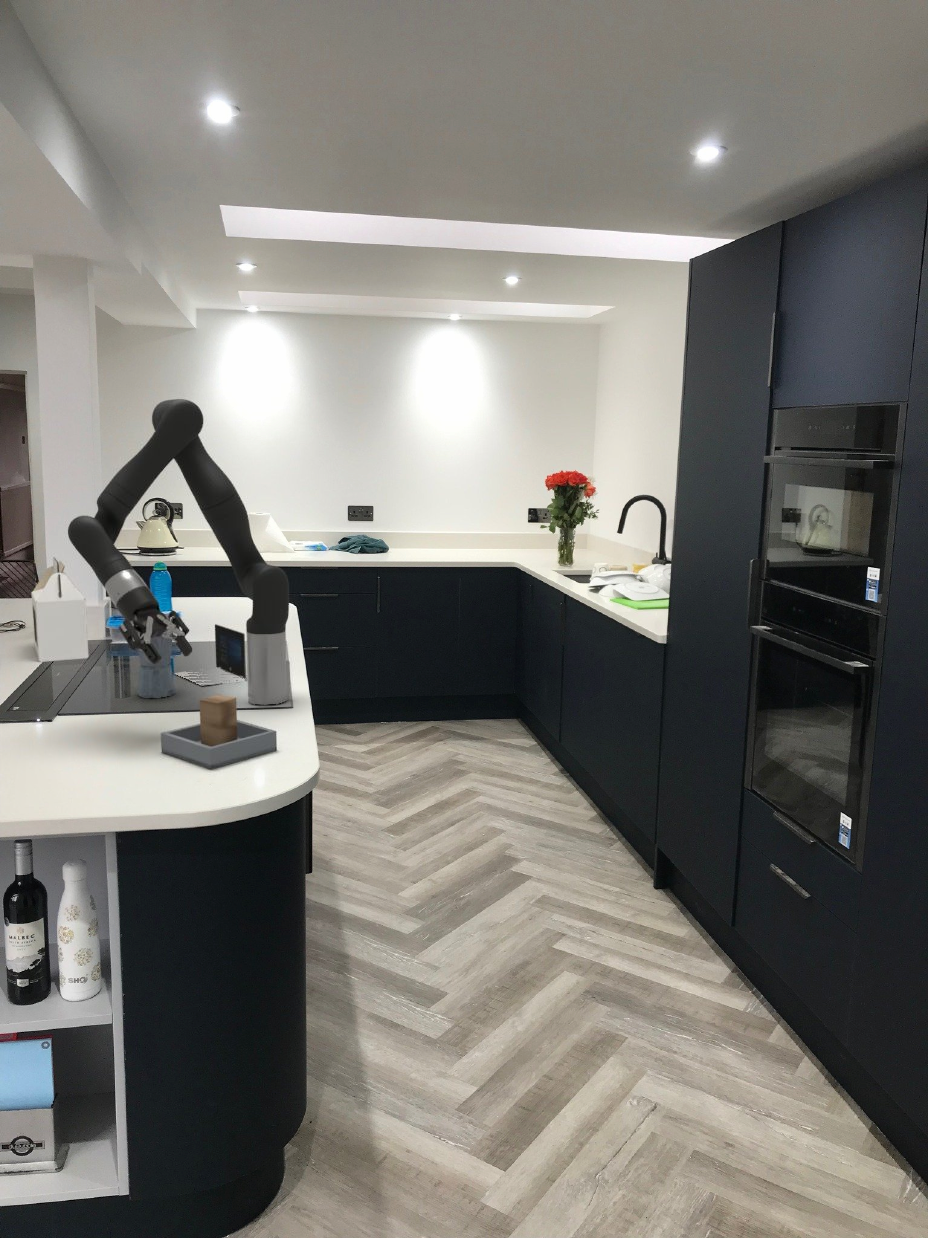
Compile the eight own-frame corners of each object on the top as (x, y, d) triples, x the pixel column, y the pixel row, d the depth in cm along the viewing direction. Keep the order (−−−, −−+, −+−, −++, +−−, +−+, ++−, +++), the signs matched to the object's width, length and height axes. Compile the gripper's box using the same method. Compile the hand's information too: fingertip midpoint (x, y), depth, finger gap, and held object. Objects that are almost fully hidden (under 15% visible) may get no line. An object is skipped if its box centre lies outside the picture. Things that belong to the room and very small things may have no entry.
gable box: (88, 658, 275) (83, 562, 270) (39, 662, 269) (32, 564, 264) (81, 645, 294) (76, 555, 290) (34, 648, 288) (29, 556, 284)
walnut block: (218, 742, 193) (217, 694, 191) (237, 746, 191) (236, 697, 189) (201, 748, 189) (199, 700, 187) (220, 752, 186) (218, 703, 185)
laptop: (173, 675, 256) (172, 628, 254) (217, 669, 264) (216, 623, 262) (201, 688, 242) (199, 638, 240) (246, 682, 250) (245, 633, 248)
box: (227, 735, 201) (226, 716, 200) (276, 750, 191) (276, 731, 190) (161, 752, 189) (160, 733, 188) (210, 769, 179) (209, 749, 178)
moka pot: (148, 703, 226) (144, 620, 222) (124, 691, 237) (120, 612, 234) (186, 697, 232) (183, 617, 228) (161, 685, 243) (158, 608, 240)
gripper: (112, 589, 188) (156, 652, 185) (166, 581, 201) (208, 640, 198) (95, 612, 192) (138, 675, 189) (149, 603, 204) (190, 662, 201)
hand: (173, 657), depth 193 cm, fingers open, 8 cm apart
